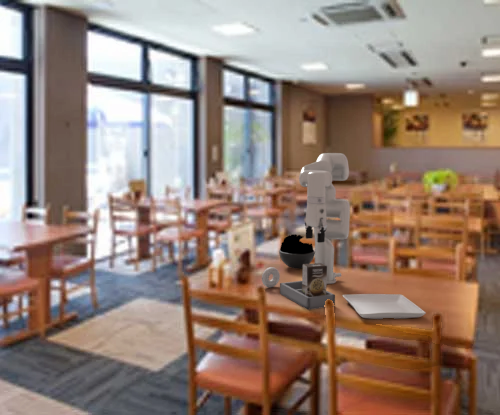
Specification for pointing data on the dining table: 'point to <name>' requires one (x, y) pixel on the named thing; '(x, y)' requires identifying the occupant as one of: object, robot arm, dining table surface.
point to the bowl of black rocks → (296, 252)
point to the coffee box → (314, 279)
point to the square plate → (384, 306)
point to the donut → (267, 273)
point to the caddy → (304, 296)
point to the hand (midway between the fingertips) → (314, 240)
